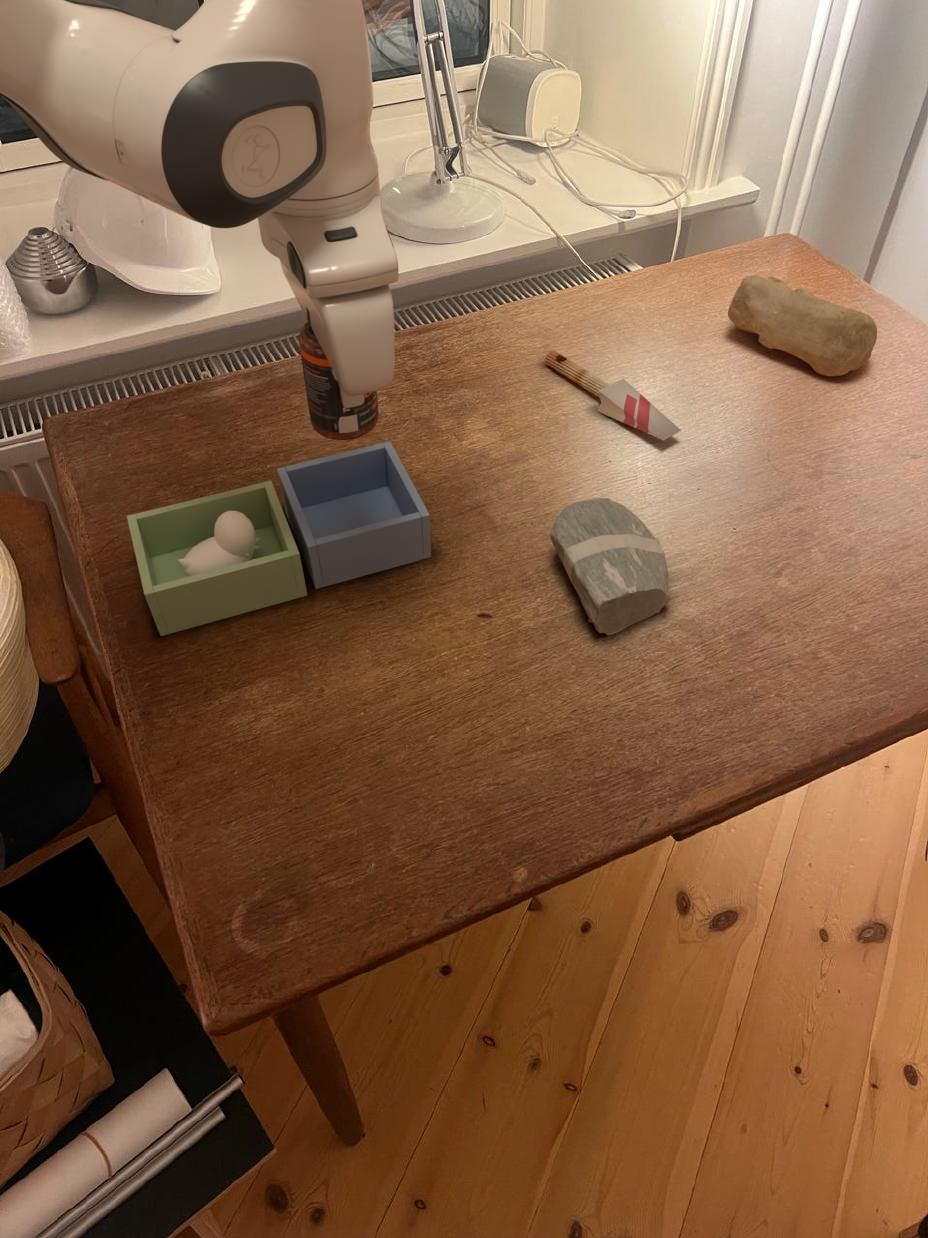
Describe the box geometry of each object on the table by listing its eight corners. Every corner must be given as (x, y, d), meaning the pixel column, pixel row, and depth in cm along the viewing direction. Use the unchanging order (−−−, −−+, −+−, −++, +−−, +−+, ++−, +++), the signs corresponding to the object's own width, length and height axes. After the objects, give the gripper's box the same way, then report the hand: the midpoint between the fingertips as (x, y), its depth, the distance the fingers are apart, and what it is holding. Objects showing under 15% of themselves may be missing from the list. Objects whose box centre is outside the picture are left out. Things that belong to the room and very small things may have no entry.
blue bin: (315, 589, 86) (307, 547, 82) (285, 511, 93) (276, 468, 89) (431, 557, 89) (429, 514, 85) (393, 483, 96) (390, 440, 92)
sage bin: (160, 636, 83) (144, 594, 78) (142, 558, 89) (126, 515, 85) (307, 595, 86) (299, 553, 82) (279, 522, 92) (271, 480, 88)
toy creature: (275, 568, 87) (265, 520, 82) (196, 603, 84) (180, 554, 80) (255, 540, 90) (243, 491, 85) (177, 572, 87) (161, 524, 82)
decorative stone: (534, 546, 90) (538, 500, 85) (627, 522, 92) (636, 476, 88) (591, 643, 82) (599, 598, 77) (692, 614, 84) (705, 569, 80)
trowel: (661, 430, 97) (539, 352, 108) (657, 452, 99) (538, 372, 110) (686, 417, 98) (564, 340, 109) (683, 438, 100) (563, 361, 111)
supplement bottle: (369, 448, 78) (357, 328, 69) (301, 439, 78) (281, 319, 70) (387, 406, 81) (378, 287, 73) (322, 397, 82) (306, 279, 74)
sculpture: (763, 283, 116) (748, 246, 108) (893, 330, 109) (889, 294, 100) (727, 345, 118) (710, 314, 109) (854, 396, 110) (846, 367, 101)
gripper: (244, 161, 71) (272, 321, 82) (314, 289, 59) (336, 458, 69) (323, 148, 73) (340, 307, 83) (407, 271, 60) (415, 439, 71)
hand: (339, 377), depth 76 cm, fingers closed on supplement bottle, 6 cm apart
